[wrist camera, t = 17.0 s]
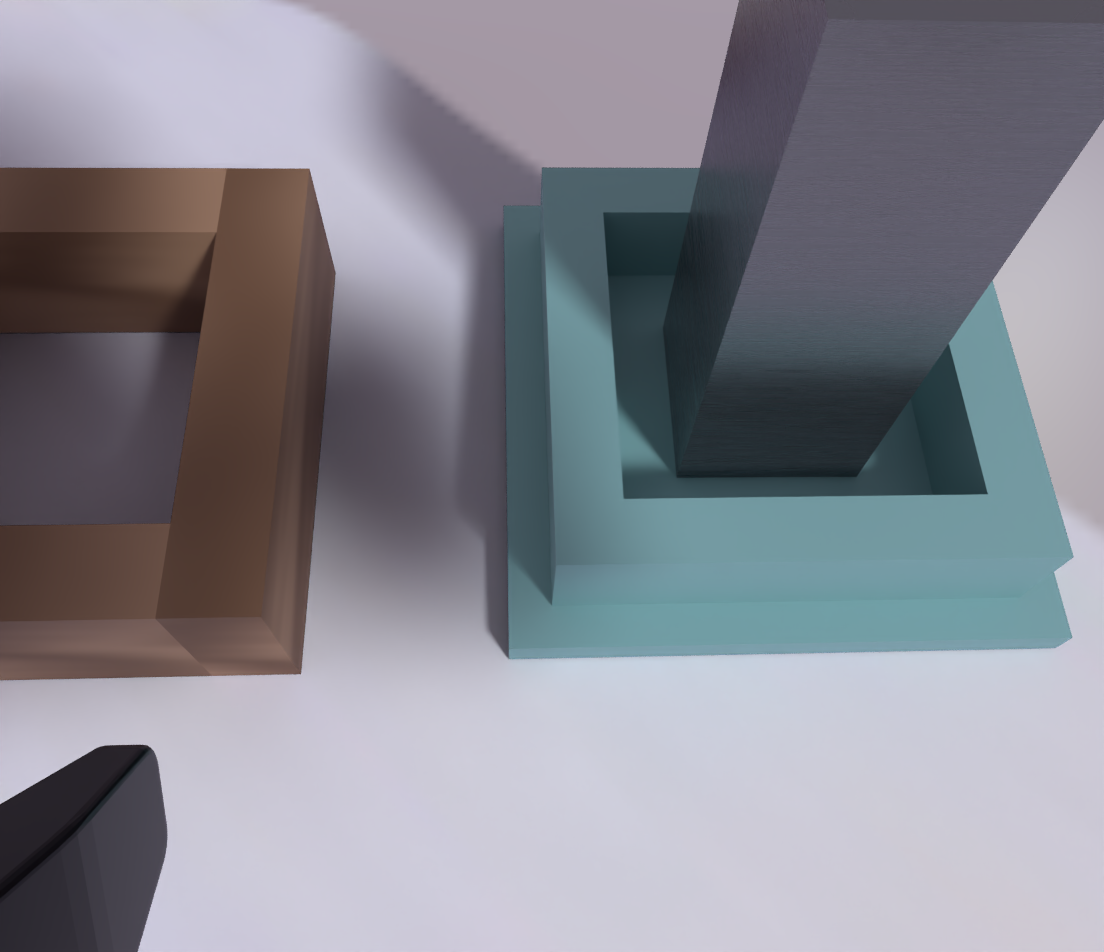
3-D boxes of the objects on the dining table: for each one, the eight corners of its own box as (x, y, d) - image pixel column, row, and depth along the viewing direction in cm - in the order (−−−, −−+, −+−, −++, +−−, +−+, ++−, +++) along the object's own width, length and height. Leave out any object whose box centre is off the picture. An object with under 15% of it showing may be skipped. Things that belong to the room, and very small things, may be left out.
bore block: (335, 272, 28) (309, 168, 24) (300, 673, 22) (261, 616, 19) (-85, 273, 27) (-175, 166, 24) (-221, 684, 22) (-363, 628, 18)
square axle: (829, 327, 26) (1076, -179, 15) (856, 476, 24) (1169, 24, 13) (662, 327, 26) (782, -187, 15) (676, 477, 24) (828, 19, 13)
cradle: (940, 225, 29) (987, 140, 26) (1055, 648, 23) (1133, 600, 20) (503, 224, 29) (502, 138, 26) (508, 659, 23) (508, 611, 20)
